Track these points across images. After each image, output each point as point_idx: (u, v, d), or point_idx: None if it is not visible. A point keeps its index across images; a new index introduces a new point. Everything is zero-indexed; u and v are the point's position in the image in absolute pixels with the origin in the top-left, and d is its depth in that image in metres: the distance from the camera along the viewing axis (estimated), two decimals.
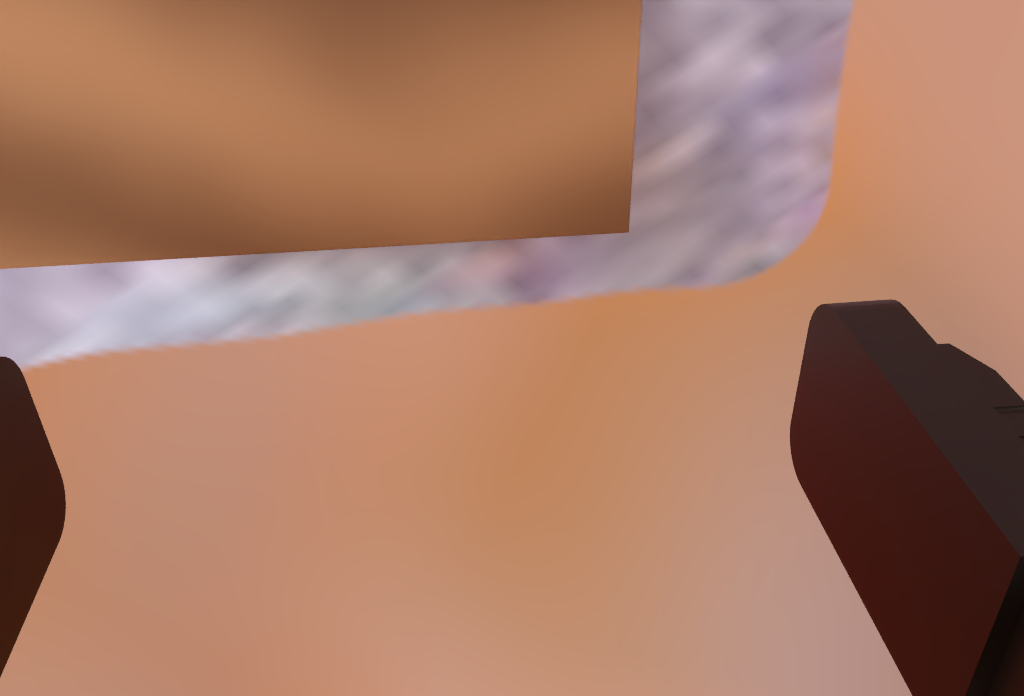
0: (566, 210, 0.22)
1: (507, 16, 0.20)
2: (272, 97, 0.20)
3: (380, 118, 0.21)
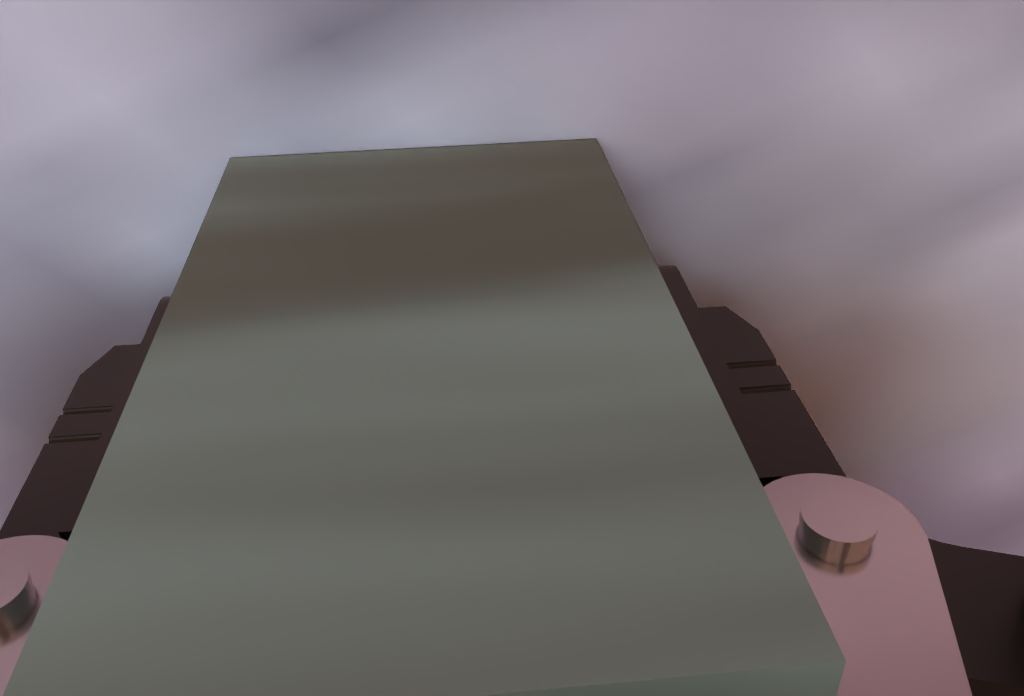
0: None
1: None
2: None
3: None
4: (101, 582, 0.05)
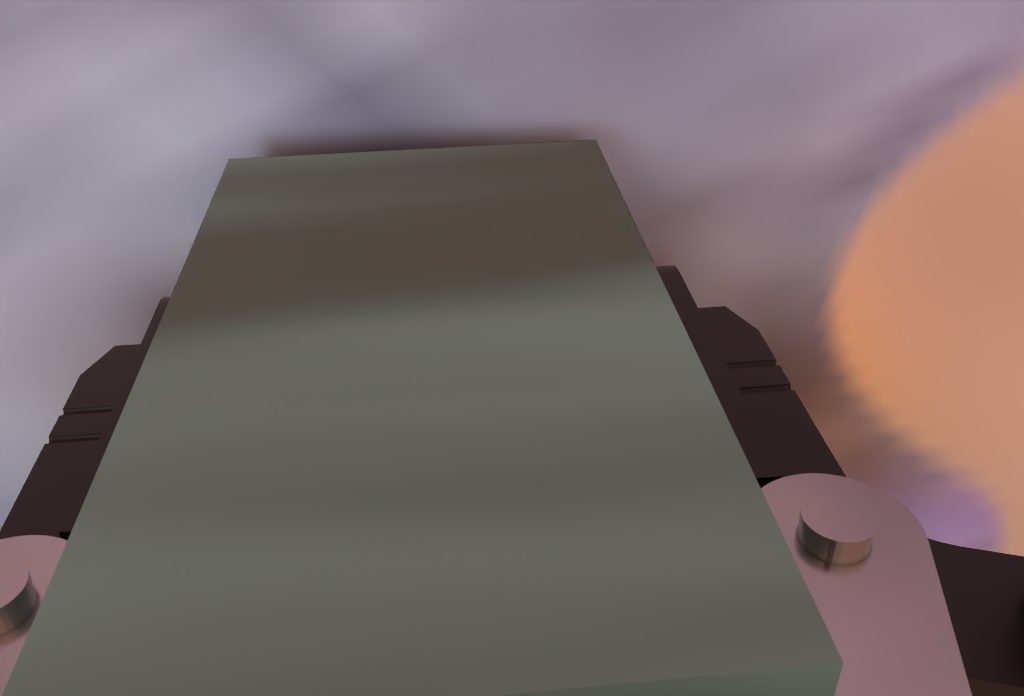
0: None
1: None
2: None
3: None
4: (99, 583, 0.05)
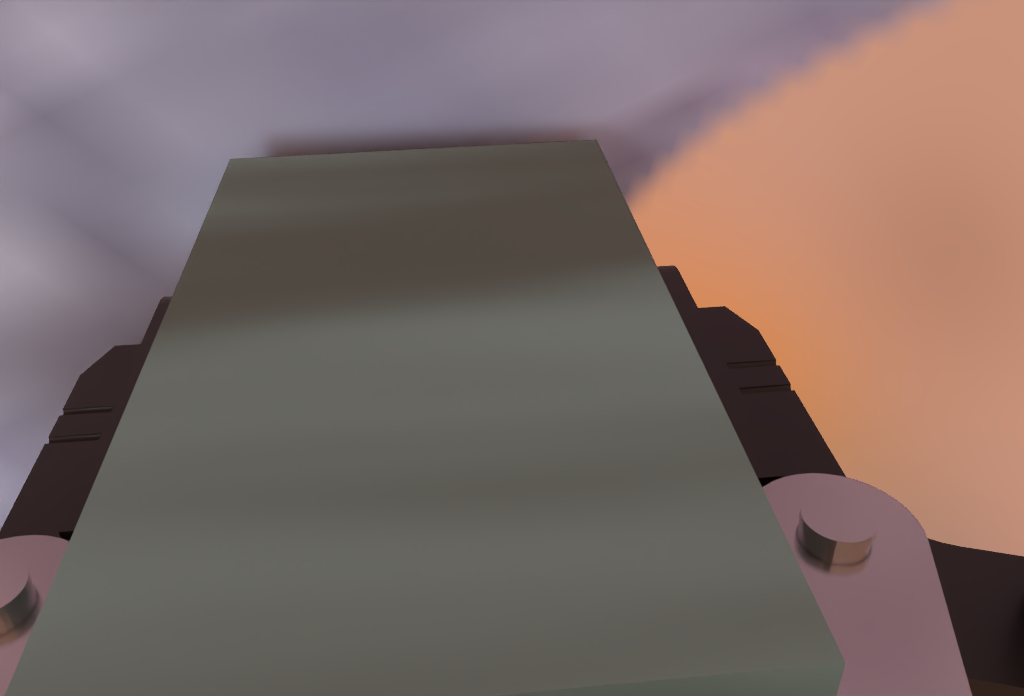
0: None
1: None
2: None
3: None
4: (101, 583, 0.05)
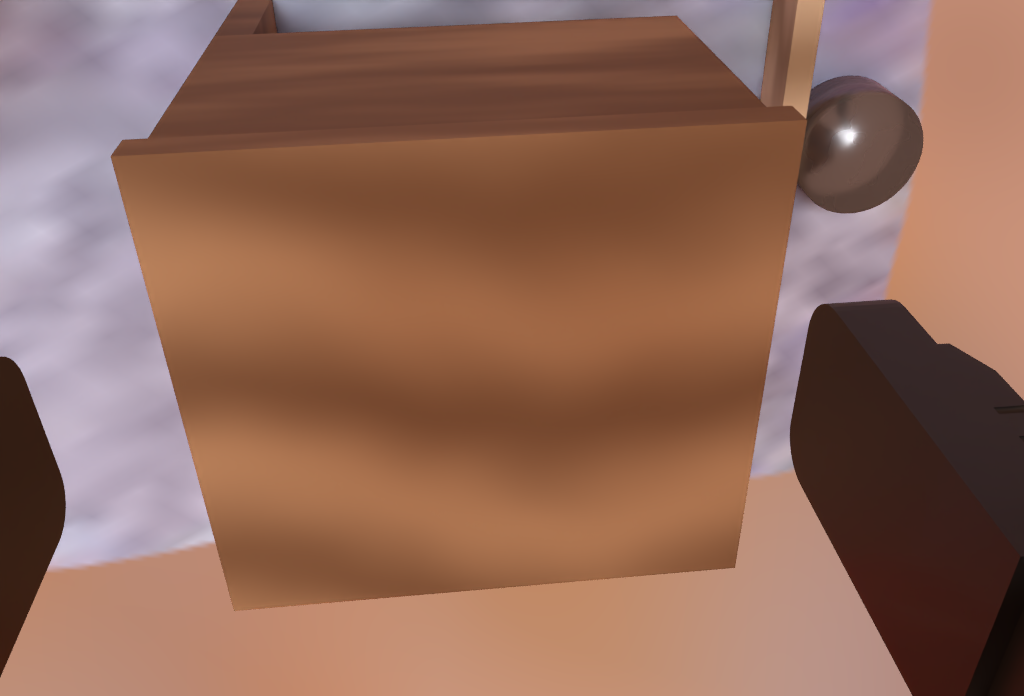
0: (688, 556, 0.29)
1: (656, 445, 0.26)
2: (476, 499, 0.27)
3: (554, 508, 0.27)
4: None
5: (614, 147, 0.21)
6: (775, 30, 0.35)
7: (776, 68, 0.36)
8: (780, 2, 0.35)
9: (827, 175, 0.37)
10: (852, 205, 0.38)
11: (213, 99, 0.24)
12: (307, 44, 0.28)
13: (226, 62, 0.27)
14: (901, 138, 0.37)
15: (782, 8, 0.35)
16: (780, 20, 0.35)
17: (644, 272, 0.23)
